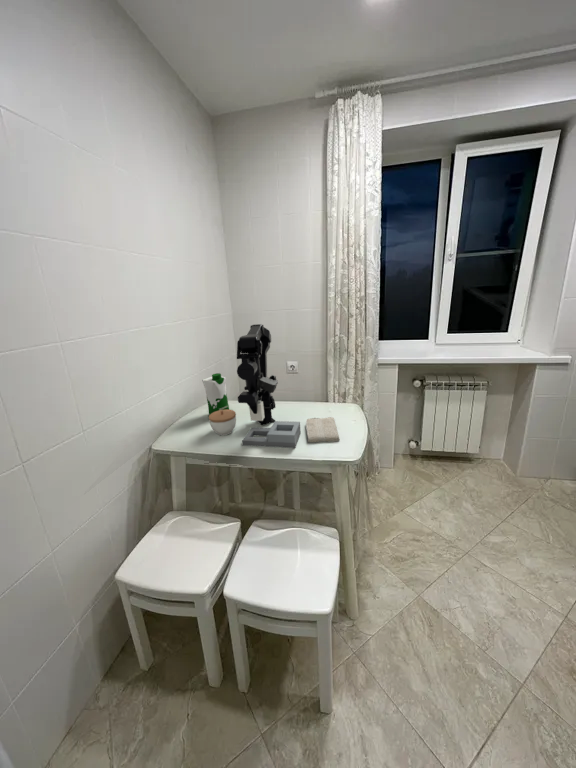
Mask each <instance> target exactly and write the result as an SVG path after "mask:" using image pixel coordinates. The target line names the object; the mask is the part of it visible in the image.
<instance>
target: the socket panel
mask: <svg viewBox="0 0 576 768" xmlns="http://www.w3.org/2000/svg"><path fill="white" fill-rule="evenodd" d="M301 434H302V433H301V422H300V421H289V420H288V421H287V420H284V421H283V420H275V422H273V423H272V425H271V427H261V426H260V427H259V426H257V427H256V426H255V427H254V426H252V427H250V429H249V430H248V432H247V433H246V435H245V436H244V437H243V438H242V440H241V444H242V446H244V447H245V446H246V447H264V448H265V447H269V448H289V449H290V448H291V449H296V447H297V444H298V442H299V439H300V436H301ZM257 435H259V436H257ZM261 436H263V437H261Z"/></svg>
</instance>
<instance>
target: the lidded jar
mask: <svg viewBox="0 0 576 768" xmlns="http://www.w3.org/2000/svg"><path fill="white" fill-rule="evenodd" d="M208 419H209V420H208V421H209V424H210V427H211V429H212V431H214V433H216V434H217V433H218V434H217V435H219V436H226V435H230V434H232V433H233V431H234V429H235V428H236V425H237V413H236V411H235V410H233V409H229V410H228V409H226V410H219V411H216V412H213V413H211V414H210V415H209V414H208Z"/></svg>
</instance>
